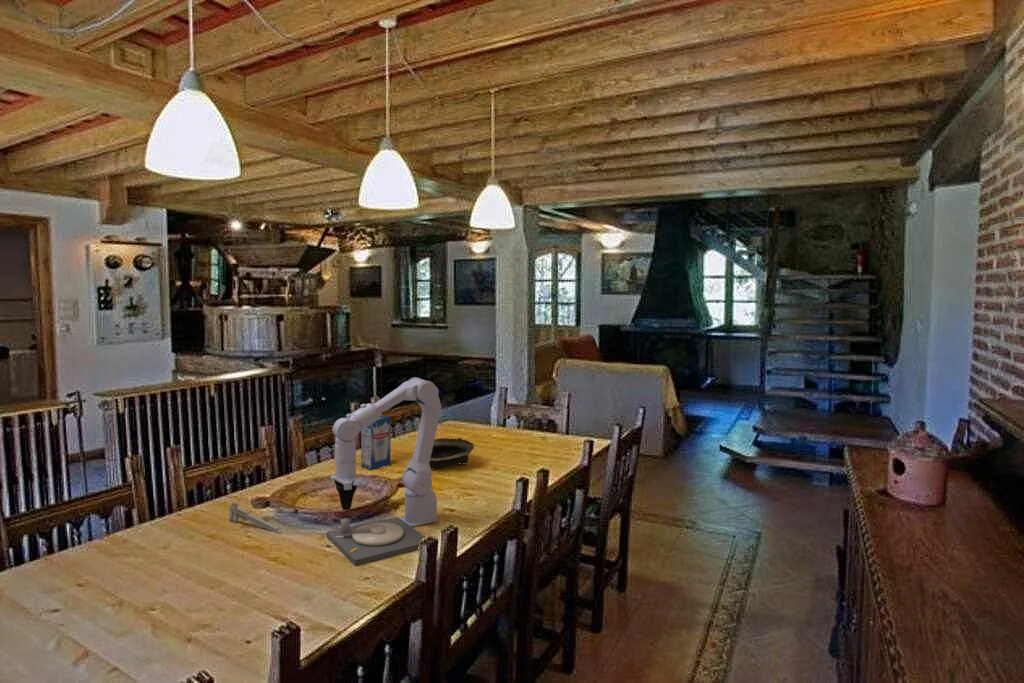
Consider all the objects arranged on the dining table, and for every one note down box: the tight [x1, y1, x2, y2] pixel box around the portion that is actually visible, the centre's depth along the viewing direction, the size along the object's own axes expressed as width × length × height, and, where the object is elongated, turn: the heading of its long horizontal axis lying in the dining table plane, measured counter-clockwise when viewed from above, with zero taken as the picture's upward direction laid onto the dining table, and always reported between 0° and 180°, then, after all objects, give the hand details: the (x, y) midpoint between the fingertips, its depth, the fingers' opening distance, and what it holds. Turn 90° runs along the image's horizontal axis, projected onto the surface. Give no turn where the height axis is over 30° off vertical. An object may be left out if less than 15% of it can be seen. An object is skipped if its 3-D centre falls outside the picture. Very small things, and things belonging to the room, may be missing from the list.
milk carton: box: [360, 414, 392, 471], centre depth 242 cm, size 10×6×20 cm, turn 143°
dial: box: [340, 517, 403, 546], centre depth 169 cm, size 17×14×5 cm
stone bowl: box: [412, 437, 475, 469], centre depth 246 cm, size 25×25×9 cm
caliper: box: [228, 501, 283, 534], centre depth 178 cm, size 20×1×6 cm, turn 66°
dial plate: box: [325, 516, 426, 567], centre depth 169 cm, size 22×22×2 cm
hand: (345, 506), depth 173 cm, fingers open, 4 cm apart
